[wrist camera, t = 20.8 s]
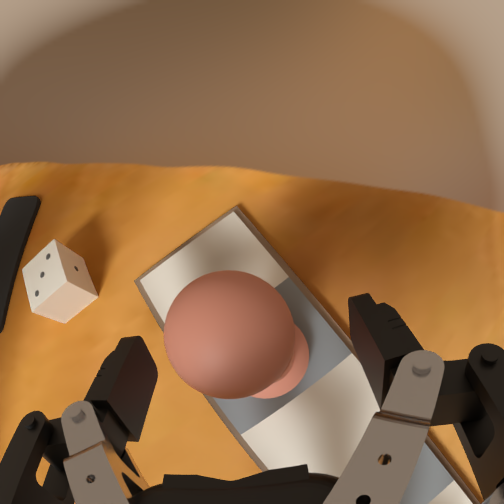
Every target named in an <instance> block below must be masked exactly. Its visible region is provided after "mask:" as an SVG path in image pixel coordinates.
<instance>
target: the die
mask: <svg viewBox="0 0 504 504" xmlns="http://www.w3.org/2000/svg"><path fill="white" fill-rule="evenodd" d="M22 272H23V277H24V281H25V286H26V290H27V295H28V299H29V303H30V307H31V310H32V312H33V313H36V314H38V315H41V316H44V317H47V318H50V319H52V320H55V321H58V322H61V323H64V324H65V323H67V322H68V321H69V320H70V319H71V318H73V317H74V316H75V315H76V314H78V313H79V312H80V311H81V310H83V309H84V308H85V307H86V306H88V305H89V304H90V303H92V302H93V301H94V300H95V299H97V298H98V294H97V292H96V290H95V287H94V285H93V282H92V280H91V277H90V275H89V272H88V269H87V267H86V264H85V261H84V259H83V258H82V257H81V256H79V255H78V254H76V253H75V252H73V251H72V250H70V249H69V248H67V247H66V246H64V245H63V244H61V243H60V242H58V241H57V240H56V239H54V240H52V241H51V242H50V243H49V244H48V245H47V246H46V247H45V248H44V249H43V250H42V251H40V252H39V253H38V254H37V255H36V256H35V257H34V258H33V259H32V260H31V261H30V262H29V263H28V264H27V265H26V266H25V267H24V268H23V269H22Z"/></svg>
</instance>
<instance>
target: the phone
mask: <svg viewBox="0 0 504 504" xmlns="http://www.w3.org/2000/svg"><path fill="white" fill-rule="evenodd" d="M40 204H41V201H40V199H39V198H38V197H36V196H27V197H16V198H11V199H9V200H8V201H7V202H6V204H5V206H4V208H3V210H2V213H1V215H0V333H1V332H2V331H3V328H4V325H5V320H6V315H7V311H8V306H9V302H10V298H11V294H12V290H13V286H14V282H15V278H16V275H17V271H18V268H19V265H20V261H21V258H22V255H23V252H24V249H25V246H26V243H27V240H28V237H29V234H30V231H31V229H32V226H33V223H34V221H35V218H36V215H37V213H38V210H39V208H40Z"/></svg>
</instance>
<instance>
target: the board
mask: <svg viewBox="0 0 504 504" xmlns="http://www.w3.org/2000/svg"><path fill="white" fill-rule="evenodd" d="M224 270H233V271H242V272H246V273H249V274H253V275H255V276H257V277H259V278H261V279H262V280H264V281H266V282H267V283H269V284H270V285H271V286H272V287H274V288H275V289H276V290H277V291H278V292H279V294H280V295H281V296H282V297H283V299H284V300H285V302H286V304H287V306H288V308H289V310H290V312H291V315H292V318H293V322H294V324H295V325H296V326H297V327H298V328H299V329H300V330H301V332H302V333H303V335H304V337H305V339H306V341H307V344H308V349H309V362H308V367H307V370H306V373H305V374H304V376H303V378H302V380H301V381H300V382H299V383H298V384H297V386H296V387H294V388H293V389H292V390H291V391H289V392H287V393H286V394H284V395H281V396H278V397H275V398H266V399H263V398H256V397H252V396H249V397H245V398H239V399H221V398H215V397H211V396H208V395H206V394H203V395H204V396H205V398H206V399H207V400H208V402H209V403H210V405H211V406H212V407H213V409H214V410H215V412H216V413H217V414H218V416H219V417H220V418H221V420H222V421H223V423H224V424H225V425H226V427H227V428H228V429H229V431H230V432H231V433H232V434H233V436H234V437H235V438H236V440H237V441H238V442H239V444H240V445H241V446H242V447H243V449H244V450H245V451H246V452H247V454H248V455H249V456H250V457H251V458H252V460H253V461H254V462H255V463H256V465H257V466H258V467H259V468H260V469H261V471H262V472H264V471H267V470H271V469H278V468H285V467H292V466H298V465H303V464H307V466H308V470H309V473H323V474H328V475H333V476H336V477H340V476H341V474H342V472H343V471H344V469H345V467H346V466H347V464H348V462H349V460H350V459H351V457H352V455H353V453H354V451H355V450H356V448H357V446H358V444H359V442H360V440H361V438H362V437H363V435H364V433H365V431H366V429H367V427H368V425H369V423H370V421H371V419H372V417H373V415H374V414H375V412H379V411H380V409H379V406H378V404H377V401H376V399H375V396H374V394H373V391H372V389H371V387H370V384H369V382H368V379H367V377H366V375H365V372H364V370H363V368H362V365H361V363H360V361H359V358H358V356H357V354H356V351H355V349H354V347H353V344H352V341H351V340H350V339H349V337H348V336H347V335H346V334H345V333H344V331H343V330H342V329H341V328H340V327H339V325H338V324H337V323H336V322H335V321H334V319H333V318H332V317H331V316H330V315H329V313H328V312H327V311H326V310H325V309H324V307H323V306H322V305H321V304H320V303H319V301H318V300H317V299H316V298H315V297H314V295H313V294H312V293H311V292H310V291H309V290H308V288H307V287H306V286H305V285H304V284H303V282H302V281H301V280H300V279H299V278H298V277H297V275H296V274H295V273H294V272H293V271H292V269H291V268H290V267H289V266H288V265H287V264H286V262H285V261H284V260H283V259H282V258H281V257H280V255H279V254H278V253H277V252H276V251H275V250H274V248H273V247H272V246H271V245H270V244H269V243H268V241H267V240H266V239H265V238H264V237H263V236H262V234H261V233H260V232H259V231H258V230H257V229H256V227H255V226H254V225H253V224H252V223H251V222H250V220H249V219H248V218H247V217H246V216H245V215H244V214H243V212H242V211H241V210H240V209H239V208H238V207H237V206H235V207H234V208H232V209H231V210H229V211H228V212H227V213H225V214H224V215H222V216H221V217H220V218H218V219H217V220H215V221H214V222H213V223H211V224H210V225H208V226H207V227H206V228H204V229H203V230H201V231H200V232H199V233H197V234H196V235H195V236H193V237H192V238H190V239H189V240H188V241H186V242H185V243H184V244H182V245H181V246H180V247H178V248H177V249H175V250H174V251H173V252H171V253H170V254H169V255H167V256H166V257H165V258H163V259H162V260H161V261H159V262H158V263H157V264H155V265H154V266H153V267H151V268H150V269H149V270H148V271H146V272H145V273H144V274H142V275H141V276H140V277H138V278H137V279H136V280H134V282H135V283H136V285H137V287H138V289H139V291H140V293H141V295H142V296H143V298H144V300H145V302H146V304H147V305H148V307H149V309H150V311H151V312H152V314H153V316H154V318H155V319H156V321H157V323H158V324H159V326H160V328H161V329H162V331H163V333H164V325H165V320H166V316H167V313H168V311H169V308H170V306H171V304H172V302H173V301H174V299H175V298H176V296H177V295H178V294H179V293H180V291H181V290H182V289H183V288H184V287H185V286H187V285H188V284H189V283H190V282H192V281H193V280H195V279H197V278H199V277H201V276H203V275H205V274H208V273H211V272H216V271H224ZM399 504H480V502H479V501H478V500H477V498H476V497H475V496H474V495H473V493H472V492H471V491H470V489H469V488H468V487H467V485H466V484H465V483H464V481H463V480H462V479H461V477H460V476H459V475H458V474H457V472H456V471H455V470H454V468H453V467H452V466H451V465H450V463H449V462H448V461H447V459H446V458H445V457H444V455H443V454H442V453H441V452H440V450H439V449H438V448H437V447H436V445H435V444H434V443H433V441H432V440H431V439H430V438H429V436H428V435H427V436H426V439H425V442H424V445H423V447H422V450H421V453H420V456H419V458H418V461H417V464H416V466H415V469H414V471H413V474H412V476H411V478H410V481H409V483H408V485H407V488H406V490H405V492H404V494H403V497H402V499H401V501H400V503H399Z"/></svg>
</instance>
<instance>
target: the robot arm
mask: <svg viewBox="0 0 504 504" xmlns="http://www.w3.org/2000/svg"><path fill="white" fill-rule="evenodd" d="M348 307H349V322H350V335H351V340H352V344H353V347H354V349H355V351H356V354H357V356H358V358H359V361H360V363H361V365H362V368H363V370H364V372H365V375H366V377H367V379H368V382H369V384H370V387H371V389H372V391H373V394H374V396H375V399H376V401H377V404H378V406H379V409H380V411H379V412H375V414H374V415H373V417H372V419H371V421H370V423H369V425H368V427H367V429H366V431H365V433H364V435H363V437H362V438H361V440H360V442H359V444H358V446H357V448H356V450H355V451H354V453H353V455H352V457H351V459H350V460H349V462H348V464H347V466H346V467H345V469H344V471H343V472H342V474H341V476H340V477H336V476H333V475H328V474H323V473H309V470H308V466H307V464H303V465H298V466H292V467H285V468H278V469H271V470H267V471H264V472H261V473H258V474H255V475H252V476H249V477H245V478H242V479H239V480H235V481H226V480H220V479H215V478H210V477H205V476H200V475H168V474H164V478H163V484H159V485H155V486H152V487H150V486H149V485H148V484H147V482H146V481H145V479H144V477H143V476H142V474H141V472H140V470H139V469H138V467H137V465H136V463H135V461H134V459H133V458H132V456H131V454H130V452H129V450H128V449H127V448H126V447H125V446H126V443H127V441H134V442H139V439H140V435H141V432H142V429H143V425H144V422H145V418H146V415H147V411H148V408H149V405H150V401H151V398H152V395H153V392H154V388H155V385H156V382H157V378H158V372H157V367H156V364H155V362H154V360H153V358H152V356H151V354H150V352H149V350H148V348H147V346H146V344H145V342H144V340H143V339H142V337H140V336H133V337H124V338H121V340H120V341H119V343H118V345H117V347H116V349H115V351H112V352H111V353H110V354H109V355H108V356H107V357H106V358H105V360H104V362H103V364H102V365H101V367H100V370H99V371H98V373H97V375H96V376H97V377H95V379H94V381H93V383H92V385H91V387H90V389H89V391H88V393H87V395H86V397H85V399H84V401H78V402H75V403H73V404H71V405H70V406H68V407H67V408H66V409H65V411H64V412H63V414H62V417H61V418H57V419H52V420H48V419H47V418H46V416H45V415H44V414H43V413H42V412H40V411H33V412H31V413H29V414H27V415H26V416H25V417H24V418H23V419H22V420H21V422H20V424H19V426H18V428H17V429H16V431H15V433H14V435H13V437H12V439H11V442H10V444H9V446H8V448H7V450H6V452H5V454H4V456H3V458H2V461H1V463H0V504H74V502H75V503H76V504H399V503H400V501H401V499H402V497H403V494H404V492H405V490H406V488H407V485H408V483H409V481H410V478H411V476H412V474H413V471H414V469H415V466H416V464H417V461H418V458H419V456H420V453H421V450H422V447H423V445H424V442H425V439H426V436H427V433H428V430H429V426H437V425H446V424H453V425H454V428H455V430H456V432H457V434H458V437H459V439H460V441H461V443H462V446H463V448H464V450H465V453H466V455H467V458H468V460H469V462H470V465H471V467H472V470H473V472H474V475H475V478H476V480H477V483H478V485H479V488H480V491H481V494H482V496H483V499H484V501H483V502H482V503H481V504H504V350H503V349H502V348H501V347H499V346H497V345H494V344H489V343H487V344H480V345H478V346H476V347H474V348H473V349H472V350H471V352H470V354H469V357H468V359H462V360H454V361H443V360H442V358H441V357H440V356H439V355H437V354H436V353H434V352H431V351H427V350H424V349H423V348H422V346H421V345H420V343H419V342H418V341H417V339H416V338H415V336H414V335H413V333H412V332H411V331H410V329H409V328H408V326H406V324H405V322H404V321H403V319H401V317H400V315H399V314H398V312H397V311H396V310H395V308H393V307H391V306H389V305H388V304H386V303H380V304H377V305H376V303H375V302H374V300H373V299H372V297H371V296H370V294H369V293H365V294H361V295H357V296H353V297H349V299H348ZM42 456H43V457H44V458H45V459H46V460H47V461H48V462H49V463H50V467H49V470H48V472H47V475H46V478H45V481H44V484H43V487H42V486H40V485H39V484H38V482H37V480H36V471H37V468H38V466H39V463H40V461H41V458H42Z"/></svg>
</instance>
